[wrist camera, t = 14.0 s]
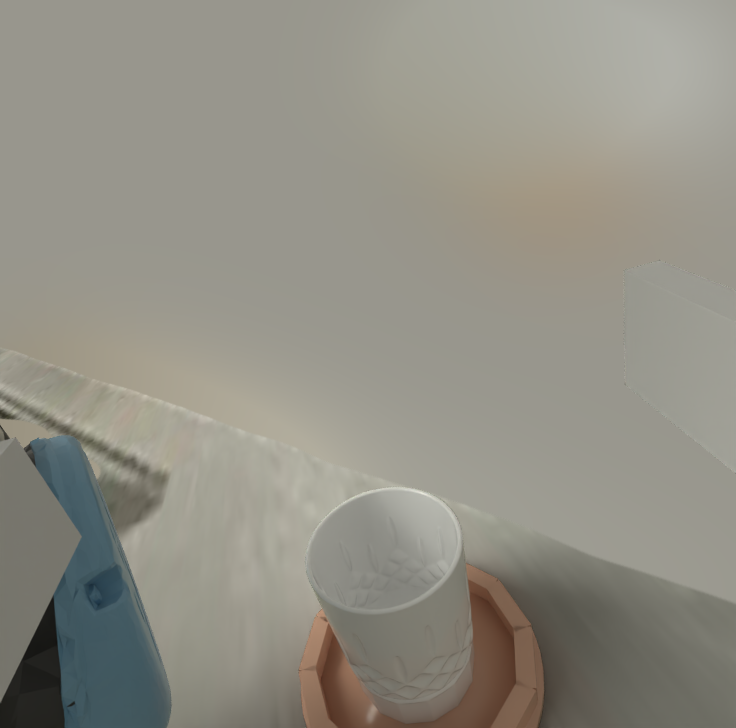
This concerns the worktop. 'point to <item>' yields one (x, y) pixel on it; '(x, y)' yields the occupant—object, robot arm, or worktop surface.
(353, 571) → the white cup
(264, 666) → the worktop surface
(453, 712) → the saucer
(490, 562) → the worktop surface
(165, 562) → the worktop surface
